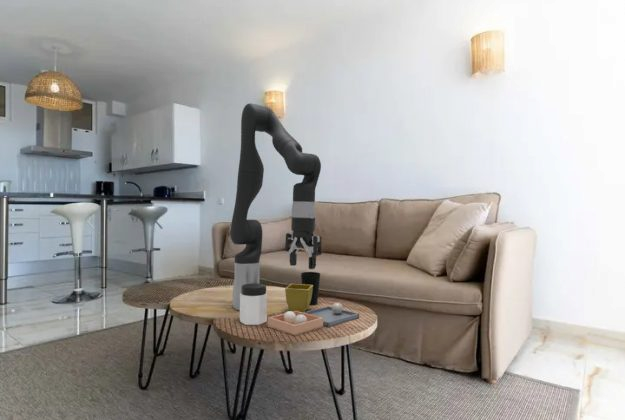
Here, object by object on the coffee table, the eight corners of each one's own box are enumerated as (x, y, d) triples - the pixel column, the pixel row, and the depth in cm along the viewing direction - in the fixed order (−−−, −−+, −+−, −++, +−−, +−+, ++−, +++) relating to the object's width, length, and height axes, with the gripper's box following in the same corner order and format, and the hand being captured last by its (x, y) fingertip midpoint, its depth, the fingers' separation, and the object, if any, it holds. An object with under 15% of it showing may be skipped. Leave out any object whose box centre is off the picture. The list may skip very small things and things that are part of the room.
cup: (319, 306, 154) (320, 275, 154) (300, 305, 154) (300, 274, 154) (319, 301, 161) (320, 272, 161) (301, 301, 162) (301, 271, 162)
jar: (270, 323, 130) (271, 286, 130) (247, 327, 125) (247, 289, 125) (259, 316, 137) (259, 282, 137) (236, 320, 133) (237, 284, 133)
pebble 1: (291, 327, 124) (291, 314, 124) (300, 324, 127) (300, 312, 127) (300, 329, 121) (300, 316, 121) (309, 327, 124) (309, 314, 124)
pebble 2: (329, 313, 140) (329, 302, 140) (336, 312, 143) (336, 300, 143) (337, 316, 138) (338, 304, 138) (345, 314, 140) (345, 302, 140)
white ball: (281, 324, 128) (280, 311, 128) (290, 323, 130) (289, 310, 131) (289, 324, 125) (289, 311, 126) (298, 323, 128) (298, 310, 128)
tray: (296, 318, 136) (296, 313, 136) (328, 310, 148) (328, 306, 148) (327, 327, 126) (328, 322, 126) (359, 317, 138) (359, 313, 138)
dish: (267, 326, 126) (268, 317, 126) (296, 319, 135) (296, 310, 135) (294, 336, 117) (294, 325, 117) (323, 327, 126) (323, 318, 126)
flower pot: (308, 314, 141) (308, 289, 141) (284, 313, 143) (284, 288, 143) (313, 308, 150) (313, 284, 150) (290, 307, 152) (290, 283, 151)
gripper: (279, 215, 128) (278, 265, 128) (311, 217, 118) (309, 271, 118) (296, 215, 133) (295, 263, 133) (328, 216, 123) (326, 268, 123)
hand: (302, 267), depth 126 cm, fingers open, 8 cm apart
